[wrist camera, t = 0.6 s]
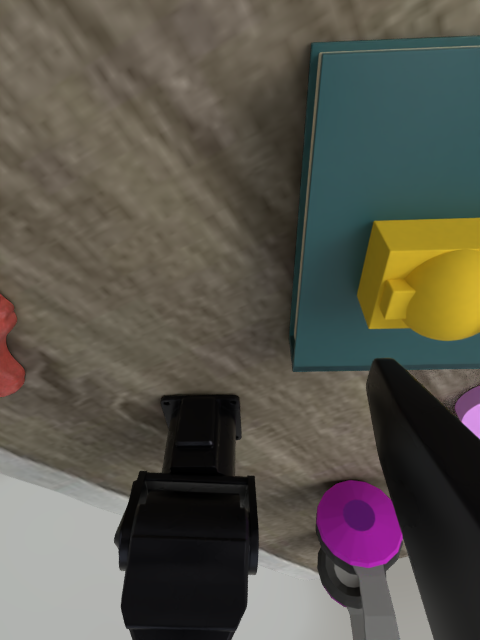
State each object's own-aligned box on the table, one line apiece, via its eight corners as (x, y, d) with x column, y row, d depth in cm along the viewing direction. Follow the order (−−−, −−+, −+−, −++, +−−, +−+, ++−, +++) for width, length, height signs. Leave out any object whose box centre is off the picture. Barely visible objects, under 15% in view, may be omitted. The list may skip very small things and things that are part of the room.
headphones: (374, 536, 54) (423, 746, 39) (313, 539, 55) (338, 745, 40) (392, 471, 40) (477, 757, 26) (309, 476, 41) (346, 755, 26)
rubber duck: (356, 295, 20) (385, 378, 16) (373, 220, 17) (414, 298, 13) (495, 292, 20) (561, 376, 16) (537, 215, 17) (633, 294, 13)
